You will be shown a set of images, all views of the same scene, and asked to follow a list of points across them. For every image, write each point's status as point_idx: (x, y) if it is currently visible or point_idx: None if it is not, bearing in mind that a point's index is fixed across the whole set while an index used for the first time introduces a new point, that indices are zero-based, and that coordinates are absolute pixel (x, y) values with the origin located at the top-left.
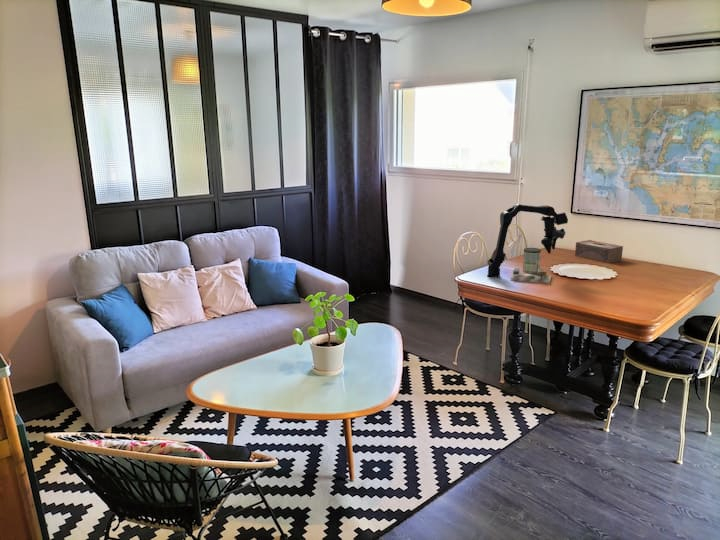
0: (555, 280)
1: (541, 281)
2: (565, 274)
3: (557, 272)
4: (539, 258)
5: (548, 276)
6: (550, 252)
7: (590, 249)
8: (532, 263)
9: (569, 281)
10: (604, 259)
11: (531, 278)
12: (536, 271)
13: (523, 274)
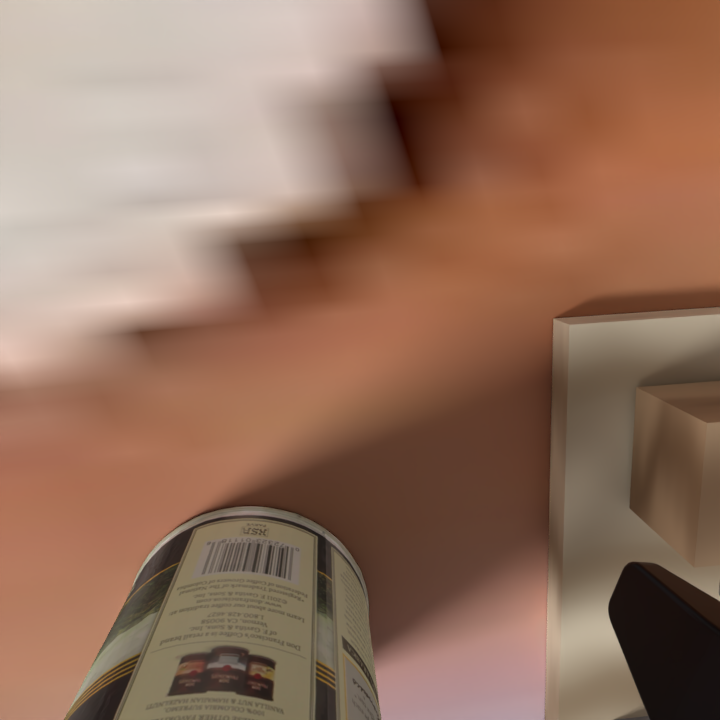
0: (676, 236)
1: None
2: (255, 104)
3: (172, 245)
4: (267, 682)
5: (639, 351)
6: (686, 584)
7: None
8: (377, 704)
9: (688, 15)
10: None
11: None
12: (330, 546)
13: (612, 673)
